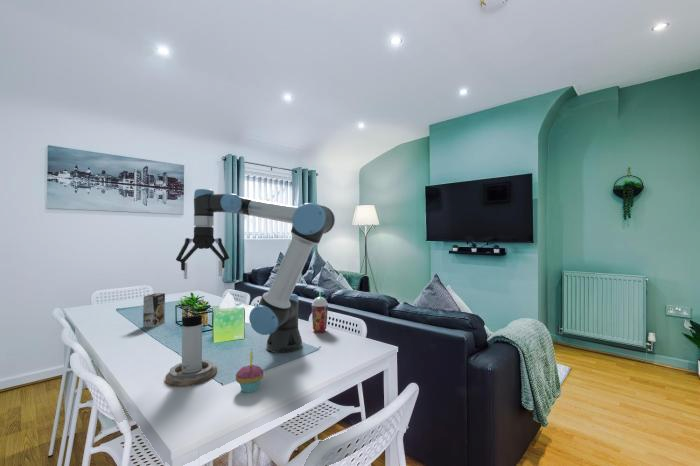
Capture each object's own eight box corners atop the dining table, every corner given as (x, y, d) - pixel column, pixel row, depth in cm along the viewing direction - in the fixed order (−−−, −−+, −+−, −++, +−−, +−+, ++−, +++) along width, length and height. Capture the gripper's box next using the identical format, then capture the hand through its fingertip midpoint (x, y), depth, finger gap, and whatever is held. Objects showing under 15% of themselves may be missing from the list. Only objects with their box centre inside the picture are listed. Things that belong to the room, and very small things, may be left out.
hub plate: (225, 367, 117) (225, 359, 117) (199, 388, 102) (199, 379, 102) (185, 364, 120) (185, 357, 120) (153, 384, 104) (153, 376, 104)
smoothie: (331, 330, 163) (331, 291, 163) (321, 334, 156) (321, 293, 156) (318, 327, 168) (318, 289, 167) (307, 331, 160) (308, 291, 160)
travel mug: (182, 378, 106) (183, 318, 106) (180, 371, 112) (181, 313, 112) (203, 373, 110) (203, 315, 110) (200, 367, 115) (200, 311, 115)
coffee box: (154, 327, 165) (155, 296, 165) (142, 327, 165) (142, 296, 165) (165, 322, 174) (165, 293, 174) (153, 322, 175) (153, 292, 174)
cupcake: (239, 383, 105) (240, 346, 105) (265, 382, 106) (266, 346, 106) (232, 396, 97) (232, 356, 97) (260, 395, 97) (261, 356, 97)
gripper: (231, 227, 144) (231, 274, 144) (168, 226, 129) (168, 278, 129) (236, 226, 138) (236, 275, 138) (171, 225, 123) (171, 280, 123)
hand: (203, 277), depth 134 cm, fingers open, 13 cm apart
